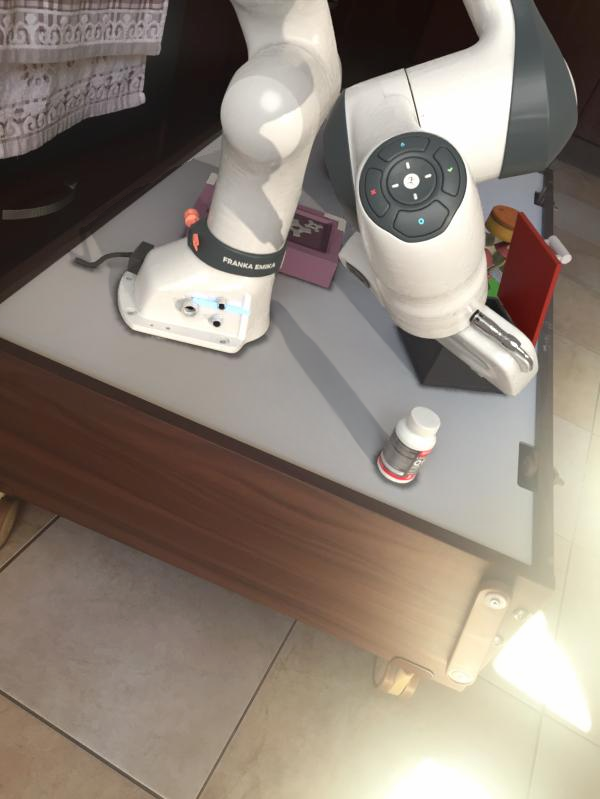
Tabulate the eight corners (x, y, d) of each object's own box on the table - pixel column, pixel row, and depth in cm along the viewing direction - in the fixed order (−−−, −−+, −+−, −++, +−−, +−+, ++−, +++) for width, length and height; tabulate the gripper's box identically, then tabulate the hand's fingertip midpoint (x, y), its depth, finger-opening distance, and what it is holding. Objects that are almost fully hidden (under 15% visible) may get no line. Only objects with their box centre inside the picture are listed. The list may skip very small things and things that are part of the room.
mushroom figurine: (505, 313, 135) (546, 244, 125) (442, 285, 135) (479, 215, 126) (509, 283, 144) (548, 217, 134) (450, 258, 144) (485, 190, 135)
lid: (557, 264, 99) (590, 261, 100) (518, 212, 108) (549, 209, 109) (529, 350, 110) (560, 346, 111) (496, 295, 119) (524, 292, 120)
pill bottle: (408, 491, 94) (440, 440, 87) (371, 472, 94) (400, 419, 88) (418, 465, 98) (449, 414, 91) (382, 447, 98) (411, 395, 92)
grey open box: (421, 385, 111) (446, 341, 105) (397, 328, 120) (418, 285, 115) (503, 393, 116) (530, 352, 110) (473, 338, 125) (497, 297, 120)
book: (337, 243, 135) (346, 219, 132) (328, 288, 123) (338, 264, 120) (205, 197, 133) (211, 172, 129) (183, 238, 120) (189, 212, 117)
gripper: (560, 328, 58) (550, 379, 70) (371, 193, 65) (393, 261, 78) (506, 386, 57) (506, 427, 70) (324, 245, 65) (353, 305, 78)
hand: (445, 339), depth 74 cm, fingers open, 8 cm apart
